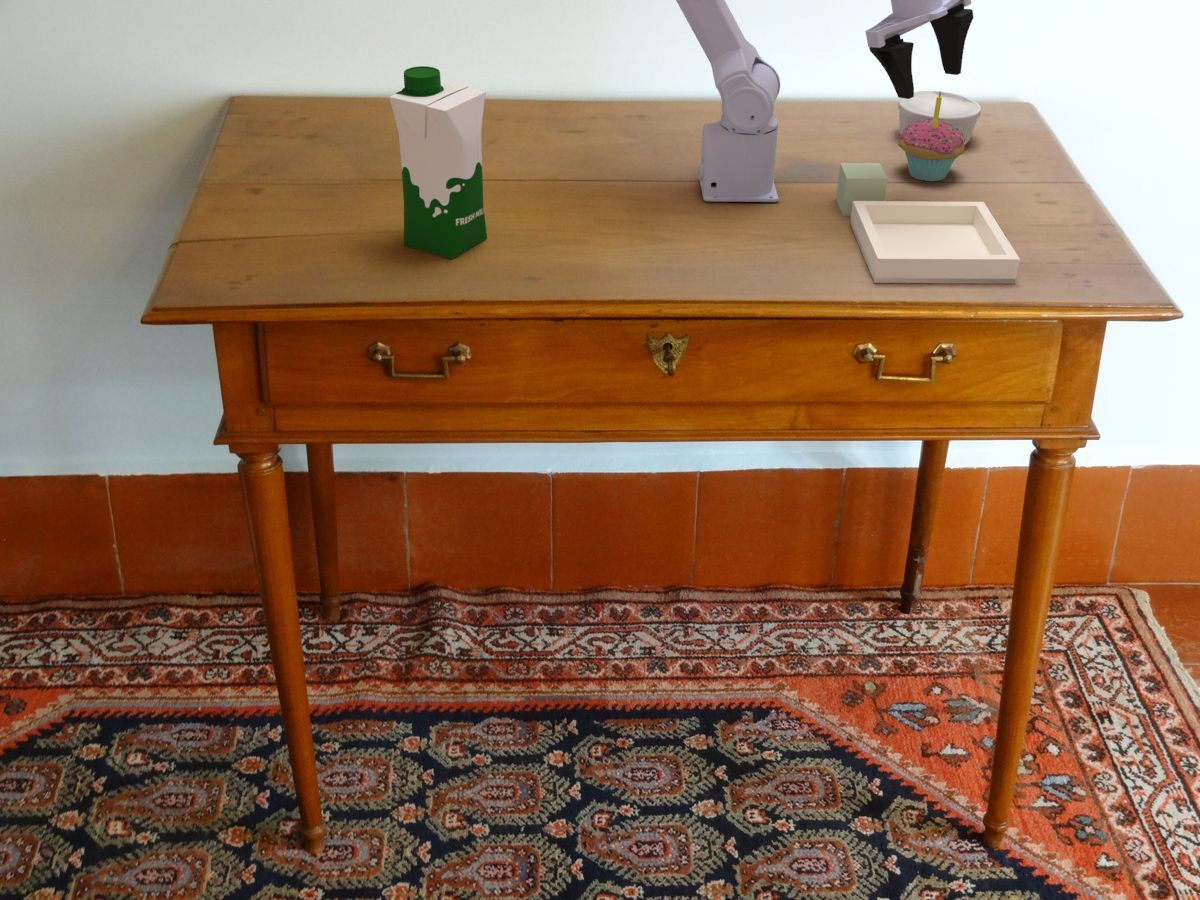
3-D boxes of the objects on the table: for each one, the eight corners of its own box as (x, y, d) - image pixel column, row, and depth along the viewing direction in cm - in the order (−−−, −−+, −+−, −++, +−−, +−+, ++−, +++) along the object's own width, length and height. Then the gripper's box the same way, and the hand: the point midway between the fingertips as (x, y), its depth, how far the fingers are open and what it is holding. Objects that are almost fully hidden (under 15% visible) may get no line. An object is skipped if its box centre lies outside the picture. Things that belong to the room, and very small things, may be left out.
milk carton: (438, 220, 164) (429, 57, 153) (498, 238, 160) (494, 72, 149) (392, 246, 158) (379, 78, 147) (454, 265, 154) (446, 94, 143)
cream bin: (874, 282, 152) (877, 258, 150) (850, 223, 165) (852, 200, 164) (1015, 283, 153) (1020, 259, 151) (979, 224, 166) (983, 201, 164)
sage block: (842, 216, 168) (847, 178, 165) (835, 200, 172) (840, 162, 169) (882, 216, 168) (887, 178, 165) (874, 200, 172) (879, 163, 169)
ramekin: (986, 136, 192) (992, 100, 189) (958, 160, 184) (964, 123, 181) (911, 120, 196) (917, 84, 194) (881, 143, 189) (886, 106, 186)
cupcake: (959, 189, 175) (975, 99, 168) (893, 183, 176) (906, 94, 170) (958, 165, 182) (973, 77, 175) (894, 159, 183) (907, 72, 177)
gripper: (887, -6, 149) (907, 111, 156) (983, -50, 154) (998, 65, 161) (846, -8, 155) (867, 105, 161) (939, -51, 160) (955, 61, 166)
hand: (929, 85), depth 161 cm, fingers open, 7 cm apart
